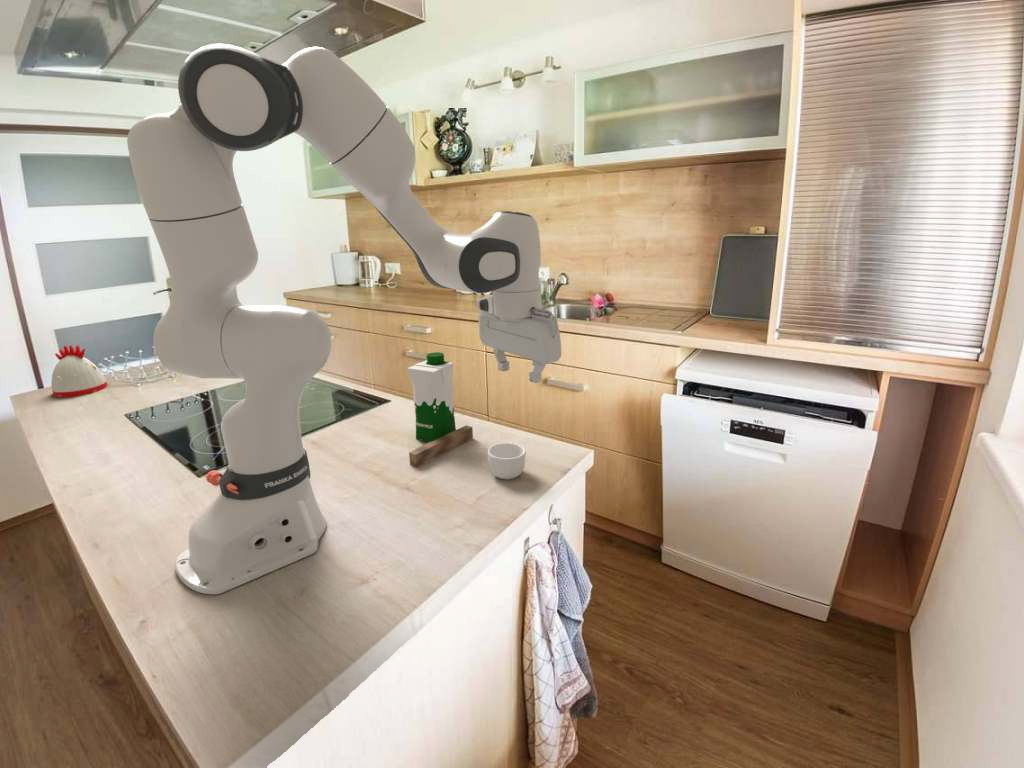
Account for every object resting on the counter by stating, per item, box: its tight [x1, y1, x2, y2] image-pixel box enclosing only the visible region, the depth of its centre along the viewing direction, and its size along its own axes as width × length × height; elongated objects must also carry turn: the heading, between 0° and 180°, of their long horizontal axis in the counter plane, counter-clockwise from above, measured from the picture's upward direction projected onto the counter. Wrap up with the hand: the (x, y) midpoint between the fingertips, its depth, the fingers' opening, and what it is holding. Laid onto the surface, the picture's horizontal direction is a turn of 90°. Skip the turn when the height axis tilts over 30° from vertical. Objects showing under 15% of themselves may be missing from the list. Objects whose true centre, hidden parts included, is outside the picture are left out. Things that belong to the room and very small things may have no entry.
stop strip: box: [408, 424, 474, 468], centre depth 116 cm, size 18×2×3 cm, turn 142°
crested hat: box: [50, 344, 108, 398], centre depth 166 cm, size 14×14×15 cm
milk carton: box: [407, 352, 457, 443], centre depth 122 cm, size 9×9×20 cm
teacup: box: [485, 442, 527, 480], centre depth 106 cm, size 10×8×5 cm
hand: (519, 375), depth 99 cm, fingers open, 8 cm apart
